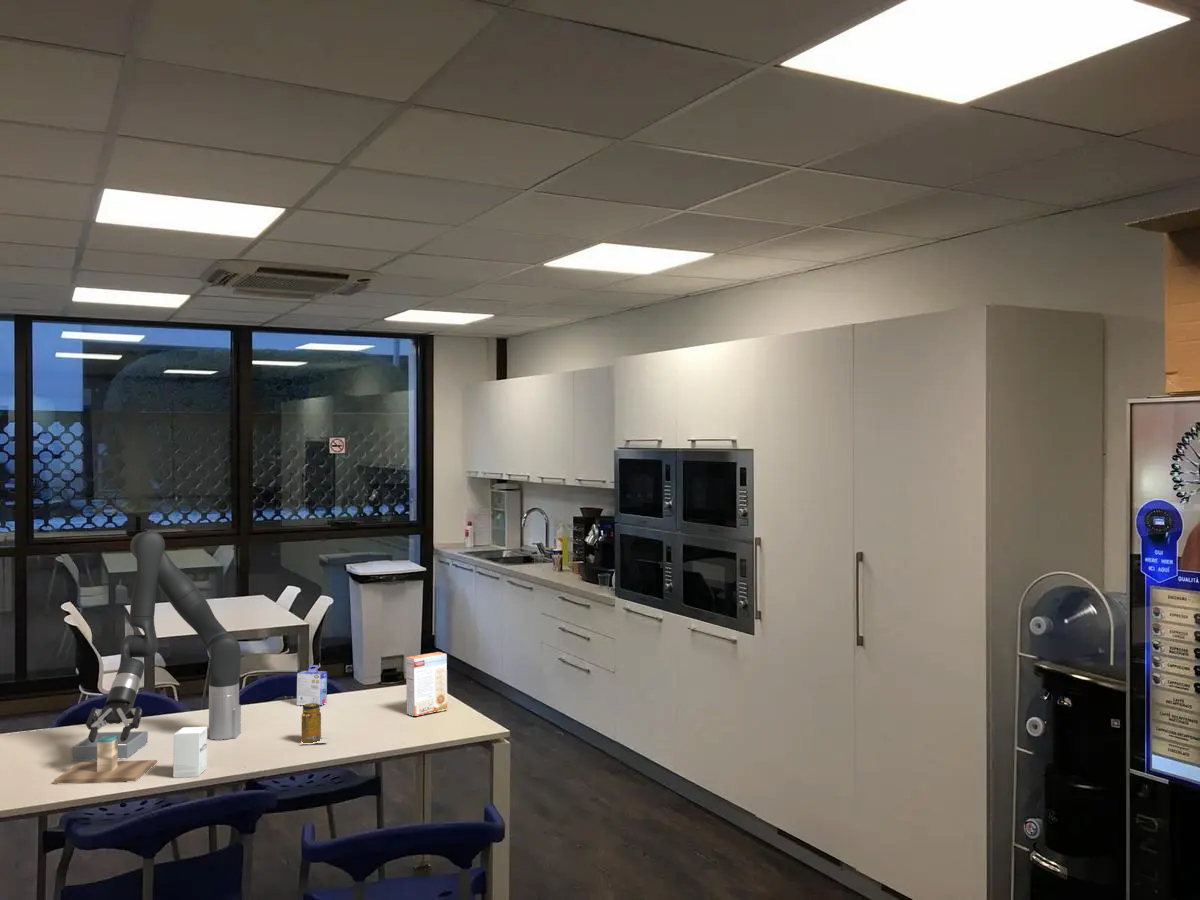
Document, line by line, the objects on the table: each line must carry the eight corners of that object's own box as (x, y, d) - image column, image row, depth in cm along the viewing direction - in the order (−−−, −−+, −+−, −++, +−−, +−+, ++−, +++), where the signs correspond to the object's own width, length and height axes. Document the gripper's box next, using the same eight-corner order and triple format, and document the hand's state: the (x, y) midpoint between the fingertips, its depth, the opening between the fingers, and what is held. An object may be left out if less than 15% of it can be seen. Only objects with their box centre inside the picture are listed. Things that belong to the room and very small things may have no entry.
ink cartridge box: (327, 703, 353) (327, 664, 354) (320, 707, 348) (320, 667, 348) (303, 702, 355) (303, 663, 356) (296, 705, 350) (296, 666, 350)
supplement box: (199, 777, 269) (199, 733, 269) (172, 778, 268) (172, 733, 269) (207, 769, 276) (208, 726, 277) (181, 769, 276) (182, 726, 276)
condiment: (302, 739, 307) (302, 702, 307) (328, 738, 308) (328, 701, 308) (298, 745, 300) (298, 708, 300) (326, 744, 301) (326, 707, 301)
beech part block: (117, 767, 275) (117, 736, 275) (111, 771, 271) (111, 740, 271) (103, 767, 274) (103, 736, 274) (97, 771, 270) (97, 740, 270)
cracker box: (438, 707, 347) (438, 651, 347) (447, 711, 342) (447, 653, 343) (405, 714, 337) (405, 656, 338) (414, 717, 333) (414, 658, 333)
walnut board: (157, 763, 281) (157, 759, 281) (135, 781, 265) (135, 777, 265) (80, 766, 279) (80, 762, 279) (53, 784, 263) (53, 779, 263)
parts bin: (147, 743, 302) (147, 731, 302) (127, 758, 286) (127, 745, 286) (95, 744, 301) (95, 732, 301) (72, 760, 285) (72, 747, 285)
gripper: (95, 685, 281) (77, 735, 269) (144, 684, 282) (128, 733, 270) (102, 699, 286) (85, 748, 274) (151, 698, 287) (136, 746, 275)
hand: (106, 740), depth 272 cm, fingers open, 8 cm apart
